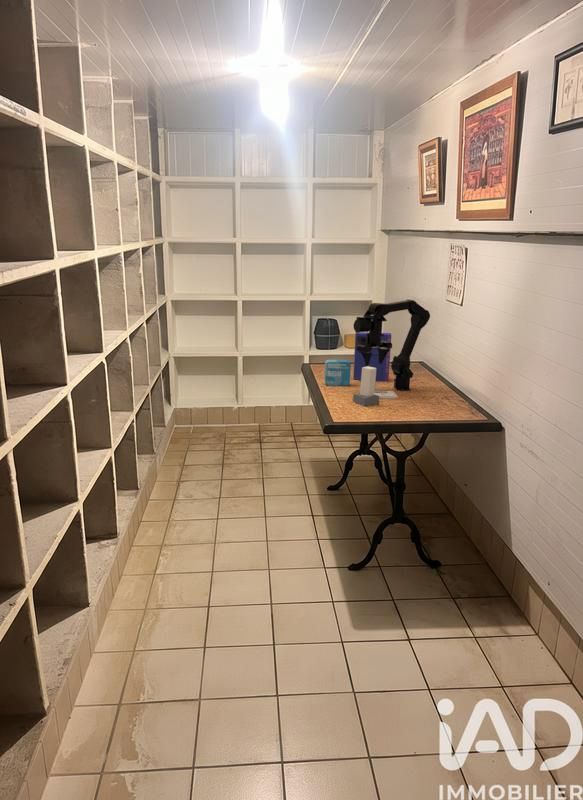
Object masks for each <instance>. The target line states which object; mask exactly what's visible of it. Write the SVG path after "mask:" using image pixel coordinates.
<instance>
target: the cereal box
mask: <svg viewBox="0 0 583 800" xmlns="http://www.w3.org/2000/svg"><path fill="white" fill-rule="evenodd" d="M354 332H355V331H354ZM367 333H368V332H355V333H354V334H355V335H354V336H355V337H354V355H353V372H352V373H353V375H352V376H353V377H352V378H353V379H354V380H359V381H358V382H361V375H362V367H367V366H366V365H365V361H364V358H363V355H362V354H361V353H360V352H359V351H357V345H358V344H359V343H357V336H361V335H362V336H363V337H366V336H367ZM382 334H384V336H382V338H381V341H387V342H391V343H392V333H391V332H382ZM367 345H368V344H367ZM391 349H392V348H390V350H389V351H388V353H387V354H386V356H385V358H384V360H383V361H382V363H381V364H379V351H378V349H377V348H374V349H372V350H371V352H372V354H371V358H370V362H369V365H368V366H369V367H374V368H376V379H375V381H376V382H386V381H388V382H389V381H390V380H389V377H390V367H391V365H390V364H391V363H390V361H391ZM354 380H353V381H354Z"/></svg>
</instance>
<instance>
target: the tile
mask: <svg viewBox="0 0 583 800" xmlns="http://www.w3.org/2000/svg"><path fill="white" fill-rule="evenodd" d="M374 394H375V395H378V396H379V398H381V399H398V395H397V393H395V392H394V391H393V390H376V391H374Z"/></svg>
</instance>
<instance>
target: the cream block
mask: <svg viewBox="0 0 583 800" xmlns="http://www.w3.org/2000/svg"><path fill="white" fill-rule="evenodd" d="M375 379H376V368H374V367H369V366H367V367H362V375H361V381H360V390H359V393H360V395H363V396H367V397H369V396H373V395H374V391H375Z"/></svg>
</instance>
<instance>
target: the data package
mask: <svg viewBox="0 0 583 800" xmlns="http://www.w3.org/2000/svg"><path fill="white" fill-rule="evenodd" d="M324 363H325V364H324V383H325V385H326V386H329V387H330V386H333V387H339V386H341V387H343V385H344V387H347V386H349V385H350V383H351V370H352V369H351V368H352V367H351V366H352V365H351V362H350V361H349V360H348V359H326V360H325V362H324ZM334 385H335V386H334Z"/></svg>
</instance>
